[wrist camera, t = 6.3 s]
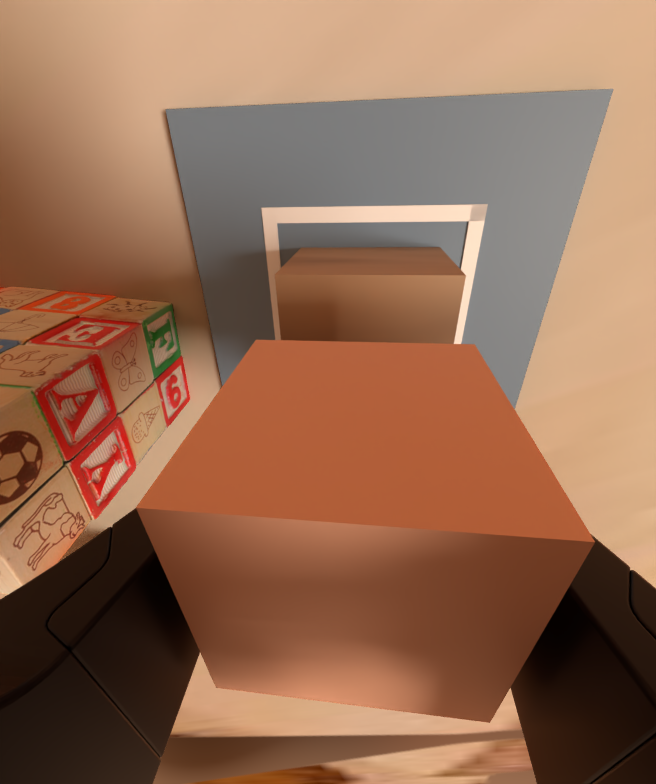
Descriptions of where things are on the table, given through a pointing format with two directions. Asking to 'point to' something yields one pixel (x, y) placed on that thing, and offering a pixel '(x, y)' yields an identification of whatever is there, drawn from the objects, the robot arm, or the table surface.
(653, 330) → the table surface
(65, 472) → the stack of blocks
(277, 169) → the board
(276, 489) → the terracotta cube
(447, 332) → the walnut base block
